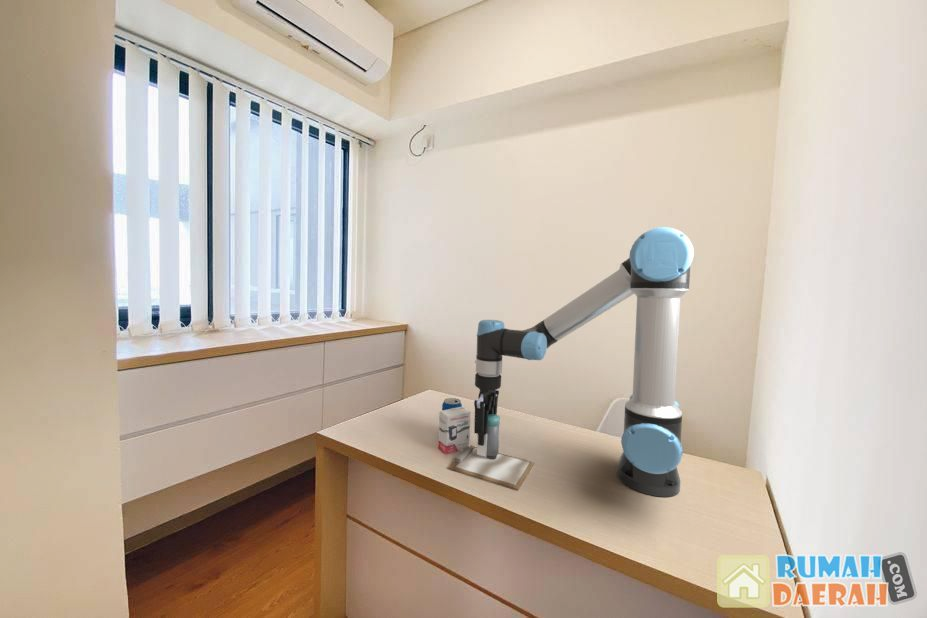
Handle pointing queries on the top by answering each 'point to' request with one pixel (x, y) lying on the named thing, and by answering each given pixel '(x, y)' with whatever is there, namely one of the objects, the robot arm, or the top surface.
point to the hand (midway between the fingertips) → (484, 451)
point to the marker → (492, 436)
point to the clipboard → (492, 467)
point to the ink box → (454, 429)
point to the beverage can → (451, 403)
